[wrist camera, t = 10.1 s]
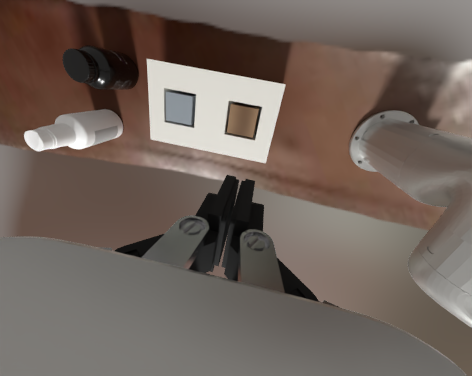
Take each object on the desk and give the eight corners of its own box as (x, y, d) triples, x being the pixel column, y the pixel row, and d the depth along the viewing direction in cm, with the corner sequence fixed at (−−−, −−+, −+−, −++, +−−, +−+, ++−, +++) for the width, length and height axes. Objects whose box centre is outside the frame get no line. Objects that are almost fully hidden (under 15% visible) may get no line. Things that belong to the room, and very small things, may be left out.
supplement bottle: (136, 53, 40) (88, 41, 30) (142, 90, 43) (101, 90, 33) (105, 52, 41) (49, 40, 30) (114, 88, 44) (65, 88, 34)
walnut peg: (260, 106, 40) (258, 109, 34) (255, 130, 42) (252, 137, 36) (236, 101, 40) (230, 104, 34) (232, 126, 42) (226, 132, 37)
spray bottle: (98, 132, 50) (19, 152, 34) (97, 104, 47) (8, 113, 31) (123, 141, 50) (56, 166, 34) (124, 114, 47) (50, 128, 31)
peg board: (282, 85, 39) (285, 84, 32) (266, 151, 46) (265, 163, 38) (168, 63, 40) (146, 58, 33) (168, 131, 47) (150, 139, 40)
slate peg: (203, 95, 40) (192, 96, 35) (201, 120, 43) (191, 125, 37) (180, 91, 41) (165, 91, 35) (179, 115, 43) (166, 120, 37)
